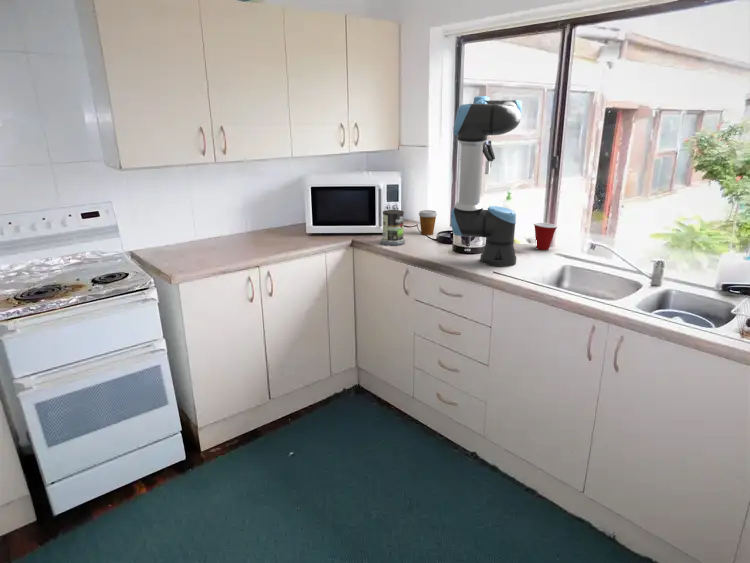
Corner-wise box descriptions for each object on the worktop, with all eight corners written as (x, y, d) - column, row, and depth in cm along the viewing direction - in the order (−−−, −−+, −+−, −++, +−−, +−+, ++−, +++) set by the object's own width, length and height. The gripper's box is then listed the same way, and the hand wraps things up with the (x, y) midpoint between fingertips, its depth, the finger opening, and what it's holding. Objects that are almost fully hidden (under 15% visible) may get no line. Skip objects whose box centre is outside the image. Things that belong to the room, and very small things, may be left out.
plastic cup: (559, 250, 234) (563, 225, 231) (540, 252, 231) (542, 226, 227) (545, 245, 244) (548, 220, 240) (526, 246, 241) (528, 222, 237)
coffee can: (407, 239, 249) (407, 211, 244) (395, 243, 241) (395, 214, 237) (390, 236, 255) (390, 208, 250) (378, 240, 247) (378, 211, 242)
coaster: (409, 243, 246) (409, 240, 246) (388, 247, 240) (388, 244, 240) (396, 238, 256) (396, 236, 255) (375, 241, 250) (375, 238, 250)
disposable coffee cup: (421, 236, 261) (422, 213, 257) (415, 232, 270) (416, 210, 266) (438, 235, 263) (439, 212, 259) (432, 231, 272) (433, 209, 268)
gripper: (493, 129, 251) (490, 172, 258) (454, 130, 239) (452, 175, 246) (504, 130, 245) (501, 174, 252) (464, 131, 233) (462, 177, 240)
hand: (476, 175), depth 249 cm, fingers open, 13 cm apart
